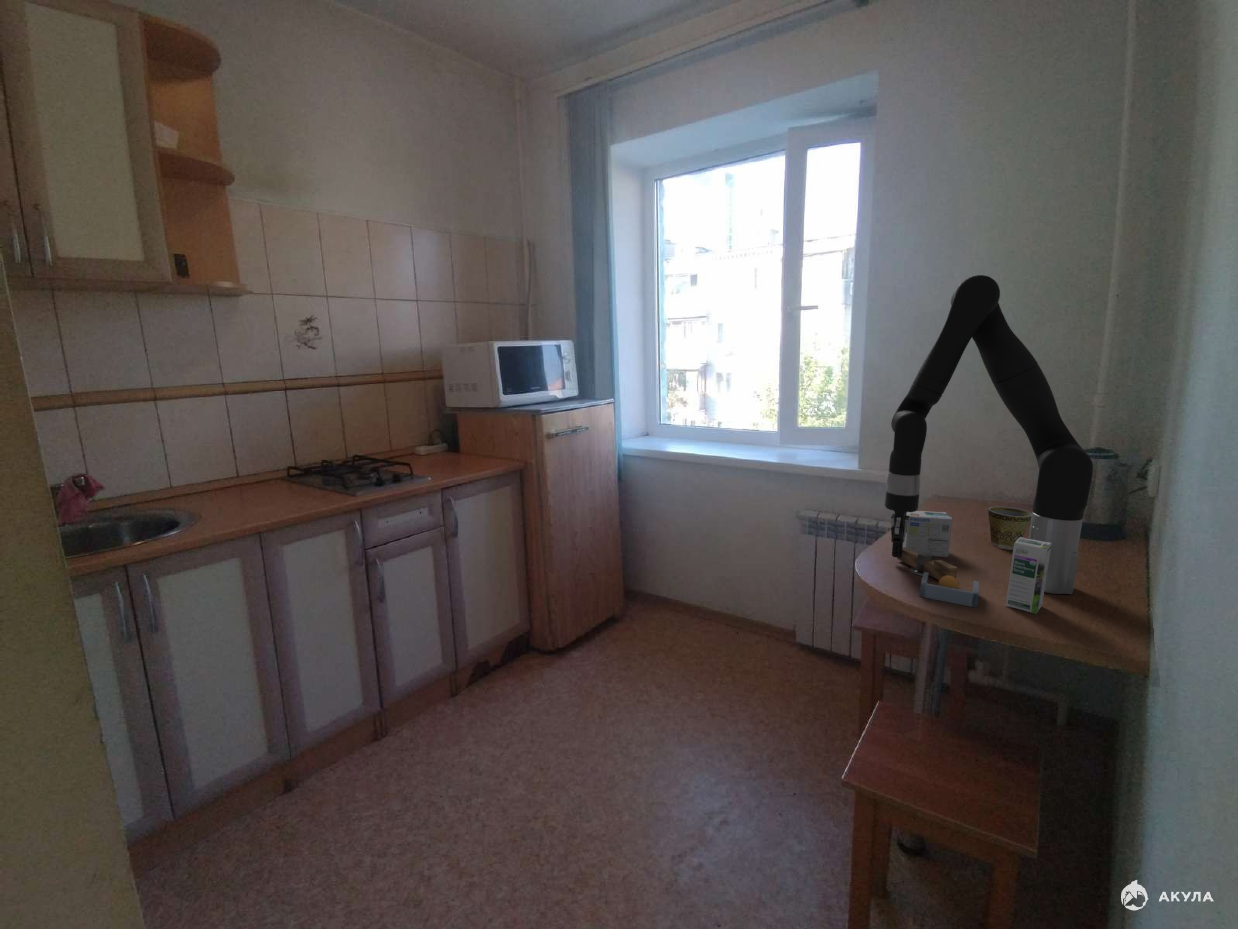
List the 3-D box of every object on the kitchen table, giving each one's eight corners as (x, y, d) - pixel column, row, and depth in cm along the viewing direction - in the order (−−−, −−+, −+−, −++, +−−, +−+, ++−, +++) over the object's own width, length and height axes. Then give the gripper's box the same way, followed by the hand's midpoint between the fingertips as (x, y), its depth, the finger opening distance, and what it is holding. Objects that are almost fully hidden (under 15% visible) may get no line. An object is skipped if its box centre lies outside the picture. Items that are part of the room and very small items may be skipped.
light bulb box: (942, 549, 159) (947, 511, 156) (949, 558, 152) (953, 518, 150) (899, 546, 161) (903, 508, 159) (904, 554, 155) (908, 515, 153)
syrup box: (1004, 606, 124) (1013, 542, 121) (1011, 598, 128) (1020, 535, 125) (1036, 615, 120) (1046, 548, 117) (1042, 606, 124) (1052, 541, 121)
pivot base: (937, 570, 144) (937, 569, 144) (936, 578, 139) (936, 577, 139) (910, 565, 147) (910, 564, 147) (908, 573, 142) (908, 572, 142)
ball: (954, 585, 127) (959, 597, 129) (957, 571, 130) (962, 584, 131) (935, 584, 130) (940, 597, 132) (937, 571, 133) (942, 584, 134)
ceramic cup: (1025, 555, 154) (1031, 518, 152) (982, 547, 160) (986, 512, 158) (1028, 541, 164) (1033, 507, 162) (987, 535, 170) (991, 502, 168)
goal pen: (977, 594, 130) (979, 581, 130) (977, 607, 124) (978, 594, 123) (922, 584, 136) (923, 571, 135) (919, 596, 129) (920, 583, 129)
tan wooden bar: (957, 583, 135) (959, 567, 134) (946, 585, 134) (948, 568, 133) (905, 557, 151) (906, 543, 150) (895, 559, 150) (896, 544, 149)
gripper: (917, 498, 137) (910, 567, 140) (921, 486, 148) (915, 551, 151) (882, 494, 141) (877, 562, 144) (889, 483, 152) (884, 546, 155)
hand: (896, 556), depth 148 cm, fingers closed
